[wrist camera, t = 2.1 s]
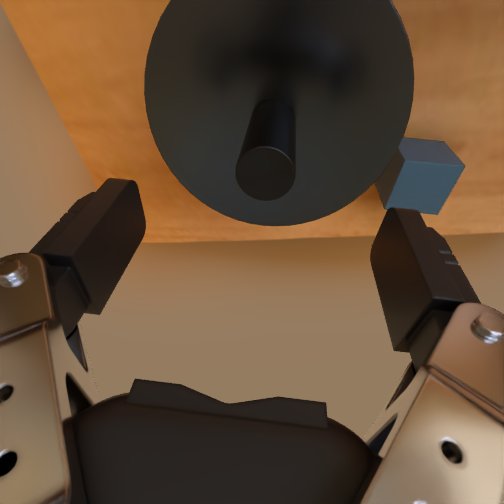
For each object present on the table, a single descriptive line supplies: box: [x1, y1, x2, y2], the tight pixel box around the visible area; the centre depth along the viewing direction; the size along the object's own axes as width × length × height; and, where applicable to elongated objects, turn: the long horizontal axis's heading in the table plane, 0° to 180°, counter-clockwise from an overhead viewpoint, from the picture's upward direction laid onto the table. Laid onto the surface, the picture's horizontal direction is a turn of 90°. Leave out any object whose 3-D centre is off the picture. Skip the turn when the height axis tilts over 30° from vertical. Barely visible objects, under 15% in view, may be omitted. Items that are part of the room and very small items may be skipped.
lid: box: [144, 0, 414, 226], centre depth 15 cm, size 14×14×7 cm
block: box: [375, 138, 465, 215], centre depth 25 cm, size 4×4×4 cm
